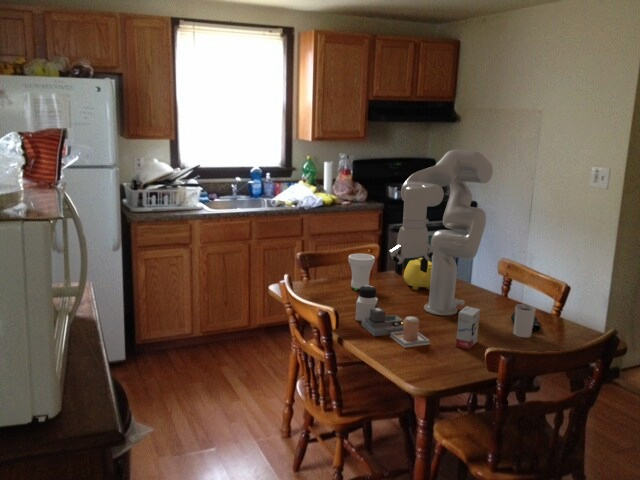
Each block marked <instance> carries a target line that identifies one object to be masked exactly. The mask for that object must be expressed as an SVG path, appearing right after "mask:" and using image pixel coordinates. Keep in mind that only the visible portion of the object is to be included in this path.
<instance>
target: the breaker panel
mask: <svg viewBox="0 0 640 480" xmlns="http://www.w3.org/2000/svg"><path fill="white" fill-rule="evenodd" d="M361 327H363V329H365V331H367V332H369V333H370V334H371V335H372V336H373V337H379V336H387V335H388V336H389V335H390V333H392V332H401V331H403V329H404V319H403V318H402V317H400V316H399V315H396V314H391V315H389V314H388V315H385V322H379V323H373V322H372V321H371V320H370V317H369V318H365V319H362V321H361Z"/></svg>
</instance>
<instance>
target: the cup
mask: <svg viewBox="0 0 640 480" xmlns="http://www.w3.org/2000/svg"><path fill="white" fill-rule="evenodd" d="M375 261H376V258H375V256H373V255H372V254H369V253H352V254H349V255H348V264H349V266H350V270H351V283H350V287H351V289H352V290H354V291H356V292H357V291H359V290H360V287H362V286H370V275H371V271H372V269H373V266H374V265H375V263H376V262H375Z"/></svg>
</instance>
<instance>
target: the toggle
mask: <svg viewBox="0 0 640 480" xmlns="http://www.w3.org/2000/svg"><path fill="white" fill-rule="evenodd" d="M385 316H386V311H385V309H383V308H382V307H377V308H374V309H370V320H371V321H372V322H373V323H379V322H385Z"/></svg>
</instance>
